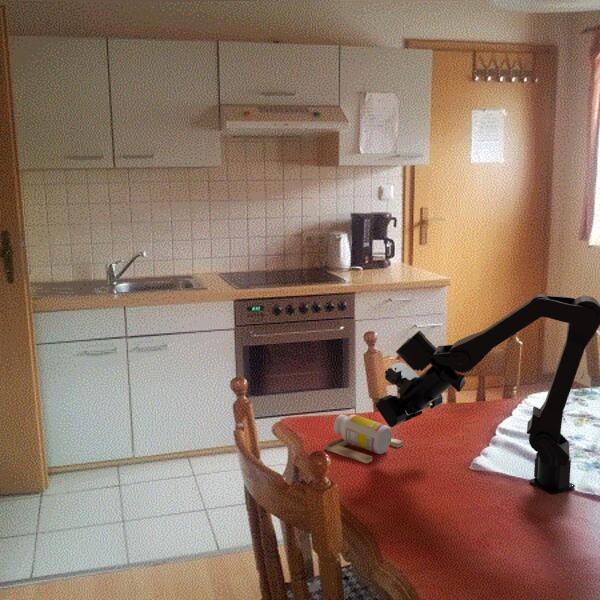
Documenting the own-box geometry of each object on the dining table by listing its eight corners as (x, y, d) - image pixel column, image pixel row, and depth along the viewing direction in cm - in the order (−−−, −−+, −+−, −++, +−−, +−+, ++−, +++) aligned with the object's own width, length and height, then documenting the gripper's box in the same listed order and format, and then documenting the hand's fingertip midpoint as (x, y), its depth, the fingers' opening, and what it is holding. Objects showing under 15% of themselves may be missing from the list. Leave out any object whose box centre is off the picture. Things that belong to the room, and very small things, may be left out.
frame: (403, 445, 168) (403, 440, 168) (366, 463, 158) (366, 457, 157) (362, 433, 176) (362, 428, 176) (325, 449, 166) (325, 444, 165)
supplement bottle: (396, 431, 165) (350, 414, 173) (385, 423, 160) (338, 406, 168) (385, 458, 164) (340, 439, 171) (373, 451, 159) (327, 433, 166)
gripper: (432, 346, 161) (391, 383, 170) (383, 362, 148) (341, 402, 157) (462, 386, 157) (418, 422, 167) (414, 407, 144) (370, 445, 153)
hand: (387, 422), depth 161 cm, fingers closed
